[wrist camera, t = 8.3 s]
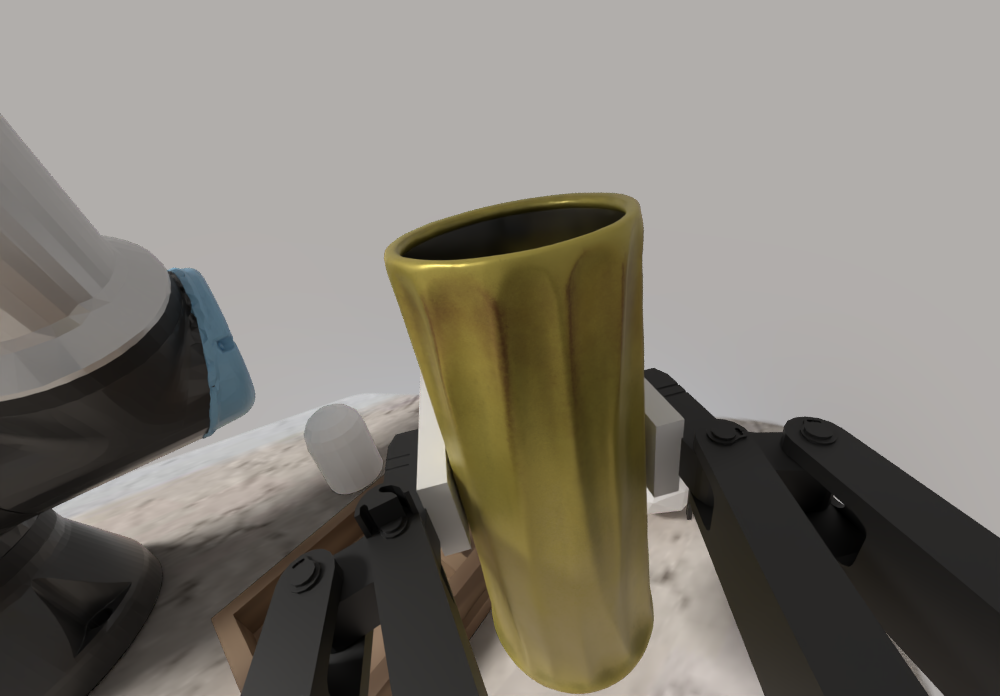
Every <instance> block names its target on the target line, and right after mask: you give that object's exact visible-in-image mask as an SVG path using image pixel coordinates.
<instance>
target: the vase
mask: <svg viewBox="0 0 1000 696" xmlns="http://www.w3.org/2000/svg"><path fill="white" fill-rule="evenodd" d="M643 229H644V227H643V220H642V215H641V209H640V204H639V202H638V201H637V200H636V199H634V198H632V197H630V196H627V195H623V194H617V193H571V194H559V195H551V196H544V197H536V198H529V199H523V200H517V201H511V202H506V203H501V204H497V205H493V206H488V207H483V208H479V209H475V210H472V211H468V212H465V213H461V214H458V215H454V216H451V217H448V218H444V219H442V220H438V221H435V222H432V223H429V224H427V225H424V226H422V227H420V228H417V229H415V230H413V231H411V232H408V233H406V234H404V235H403V236H401V237H399V238H398V239H397V240H395V241H394V242H393V243H391V244H390V245H389V246H388V247H387V249H386V250H385V253H384V261H385V266H386V270H387V274H388V276H389V280H390V282H391V285H392V288H393V291H394V293H395V296H396V299H397V302H398V304H399V307H400V310H401V313H402V316H403V319H404V322H405V325H406V328H407V331H408V334H409V337H410V340H411V343H412V346H413V349H414V352H415V355H416V358H417V361H418V364H419V367H420V370H421V373H422V376H423V379H424V382H425V385H426V389H427V392H428V395H429V398H430V401H431V404H432V407H433V410H434V413H435V417H436V420H437V423H438V426H439V429H440V432H441V434H442V437H443V440H444V444H445V447H446V451H447V454H448V458H449V461H450V465H451V468H452V471H453V475H454V478H455V482H456V485H457V489H458V492H459V495H460V498H461V501H462V504H463V507H464V510H465V513H466V516H467V520H468V523H469V526H470V530H471V533H472V537H473V540H474V543H475V547H476V550H477V553H478V556H479V560H480V563H481V567H482V571H483V575H484V579H485V583H486V587H487V591H488V594H489V597H490V601H491V605H492V615H493V621H494V626H495V629H496V633H497V635H498V637H499V640H500V642H501V644H502V645H503V647H504V649H505V651H506V652H507V653H508V655H509V656H510V658H511V659H512V660H513V661H514V663H515V664H516V665H517V666H518V667H519V668H520V669H521V670H522V671H523V672H524V673H525V674H526V675H528V676H529V677H530V678H532V679H533V680H535V681H536V682H538V683H539V684H541V685H543V686H545V687H548V688H551V689H554V690H557V691H560V692H565V693H571V694H585V693H592V692H596V691H599V690H602V689H605V688H608V687H610V686H612V685H613V684H615V683H617V682H619V681H620V680H622V679H623V678H624V677H626V676H627V675H628V674H629V673H630V672H631V671H632V670H633V669H634V667H635V666H636V665H637V663H638V662H639V661H640V659H641V658H642V656H643V654H644V652H645V650H646V648H647V645H648V642H649V640H650V637H651V633H652V630H653V622H654V613H653V603H652V595H651V590H650V580H649V553H648V538H647V486H646V436H645V390H644V332H643V273H642V252H643V233H644V230H643Z"/></svg>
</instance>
